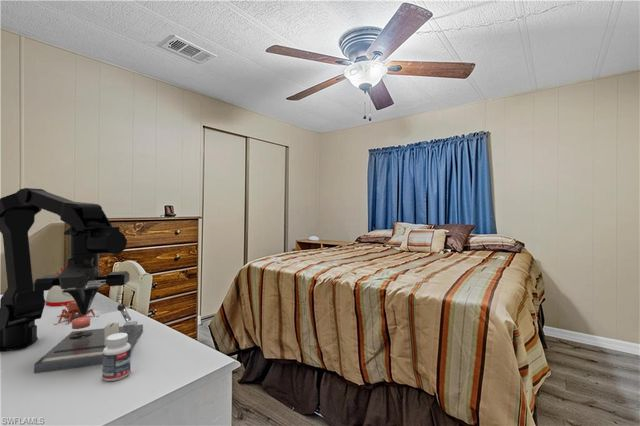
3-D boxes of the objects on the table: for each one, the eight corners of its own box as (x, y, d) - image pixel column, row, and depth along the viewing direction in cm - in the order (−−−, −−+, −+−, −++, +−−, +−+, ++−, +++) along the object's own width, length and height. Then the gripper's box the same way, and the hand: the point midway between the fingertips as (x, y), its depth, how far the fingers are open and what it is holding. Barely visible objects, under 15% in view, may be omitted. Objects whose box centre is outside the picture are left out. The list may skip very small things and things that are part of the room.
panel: (33, 373, 69) (34, 355, 69) (72, 338, 88) (72, 324, 88) (125, 360, 75) (125, 344, 75) (142, 330, 94) (142, 317, 94)
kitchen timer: (93, 301, 125) (93, 264, 125) (48, 309, 114) (49, 269, 114) (85, 294, 134) (85, 260, 134) (43, 301, 124) (43, 264, 124)
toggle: (124, 323, 88) (115, 307, 87) (126, 321, 90) (117, 305, 89) (131, 319, 89) (122, 303, 88) (133, 317, 91) (124, 301, 90)
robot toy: (101, 319, 105) (101, 282, 105) (53, 328, 96) (53, 288, 96) (94, 309, 116) (94, 275, 116) (50, 316, 107) (51, 280, 107)
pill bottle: (116, 383, 66) (116, 342, 66) (96, 380, 67) (96, 339, 67) (136, 370, 71) (136, 332, 71) (117, 368, 72) (117, 330, 72)
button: (69, 329, 83) (69, 322, 83) (75, 324, 87) (75, 317, 87) (86, 328, 84) (87, 320, 84) (92, 323, 88) (92, 316, 88)
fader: (104, 346, 78) (104, 327, 78) (108, 341, 81) (108, 323, 81) (115, 345, 79) (115, 326, 79) (118, 340, 81) (118, 322, 81)
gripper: (18, 259, 67) (18, 330, 67) (118, 255, 73) (118, 320, 73) (45, 252, 77) (45, 314, 77) (130, 250, 83) (129, 307, 84)
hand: (84, 314), depth 77 cm, fingers closed
